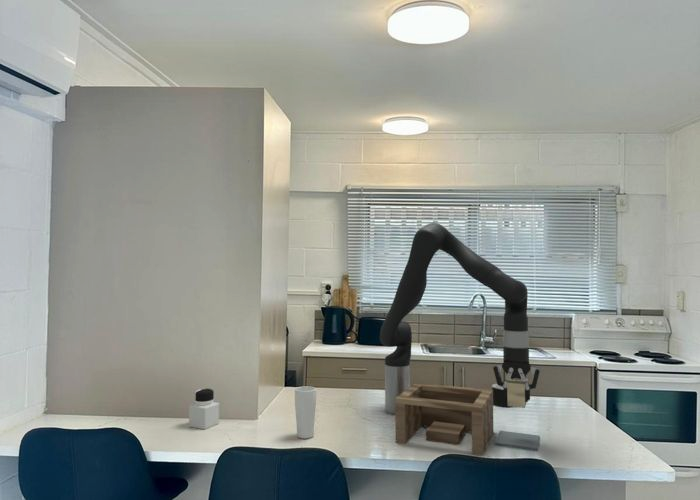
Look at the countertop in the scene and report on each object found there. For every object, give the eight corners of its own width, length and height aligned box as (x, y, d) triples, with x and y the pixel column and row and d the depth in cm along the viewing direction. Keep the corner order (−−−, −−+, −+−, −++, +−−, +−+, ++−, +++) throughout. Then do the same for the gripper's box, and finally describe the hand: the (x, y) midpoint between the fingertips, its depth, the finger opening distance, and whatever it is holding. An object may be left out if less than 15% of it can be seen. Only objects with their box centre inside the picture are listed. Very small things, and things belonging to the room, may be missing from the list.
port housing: (415, 422, 171) (415, 382, 172) (493, 432, 161) (492, 390, 161) (395, 442, 151) (395, 398, 152) (482, 455, 141) (482, 407, 141)
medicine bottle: (219, 423, 170) (219, 388, 170) (205, 429, 163) (205, 393, 164) (203, 421, 173) (203, 386, 173) (188, 427, 166) (188, 390, 167)
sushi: (496, 400, 199) (496, 380, 199) (517, 404, 194) (517, 383, 194) (489, 405, 192) (488, 384, 193) (510, 408, 187) (510, 387, 188)
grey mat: (499, 432, 160) (499, 430, 160) (539, 438, 155) (539, 435, 155) (494, 445, 149) (494, 442, 149) (537, 451, 144) (537, 448, 144)
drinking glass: (294, 433, 160) (295, 386, 160) (315, 432, 161) (316, 385, 161) (294, 440, 153) (294, 391, 154) (316, 439, 154) (316, 391, 154)
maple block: (509, 402, 155) (509, 379, 156) (526, 403, 153) (525, 381, 154) (507, 406, 151) (507, 383, 151) (524, 408, 149) (524, 384, 149)
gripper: (541, 344, 153) (542, 400, 153) (493, 342, 159) (494, 395, 159) (540, 348, 147) (541, 406, 146) (490, 345, 152) (491, 401, 152)
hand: (516, 400), depth 152 cm, fingers closed on maple block, 5 cm apart
